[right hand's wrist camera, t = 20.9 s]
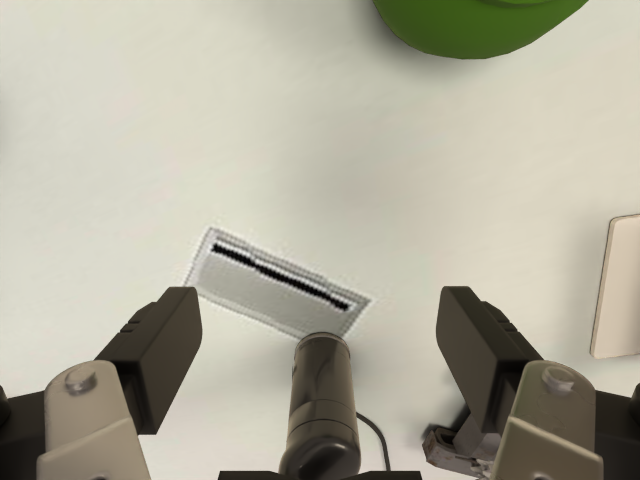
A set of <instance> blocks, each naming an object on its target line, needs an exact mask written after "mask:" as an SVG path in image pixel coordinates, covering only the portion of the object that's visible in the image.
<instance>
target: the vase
mask: <svg viewBox="0 0 640 480" xmlns="http://www.w3.org/2000/svg"><path fill="white" fill-rule="evenodd" d="M587 1H588V0H373V2H374V4H375V6H376V8H377V10H378V11H379V13H380V15H381V17H382V19H383V21H384V22H385V23H386V24H387V25H388V27H389V28H390V29H391V30H392V31H393V33H394V34H395V35H396V36H398V37H399V38H400V39H401V40H403V41H404V42H405V43H407V44H408V45H409V46H411V47H413V48H415V49H418V50H420V51H422V52H424V53H427V54H432V55H437V56H442V57H449V58H457V59H487V58H491V57H495V56H500V55H504V54H508V53H511V52H513V51H515V50H517V49H519V48H522V47H524V46H526V45H528V44H531V43H532V42H534V41H535V40H537V39H538V38H540V37H541V36H543V35H544V34H545V33H547V32H548V31H550V30H551V29H553V28H554V27H555V26H557V25H558V24H560V23H561V22H562V21H564V20H565V19H566V18H568V17H569V16H570V15H572V14H573V13H574V12H576V11H577V10H578V9H580V8H581V7H582V6H583V5H584V4H585V3H586V2H587Z"/></svg>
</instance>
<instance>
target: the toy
mask: <svg viewBox="0 0 640 480" xmlns="http://www.w3.org/2000/svg"><path fill="white" fill-rule="evenodd" d="M500 442H501V437H500V435H499V433H481V432H480V430H479V427H478V425H477V423H476V421H475V419H474V417H473V415H472V413H471V414H470V415H469V417H468V418H467V420H466V421H465V423H464V424H463V426H462V427H461V429H460V430H459V432H454V431H451V430H447V429H443V428H437V430H436V431H435V433H434V432H433V430H431V431H430V433H429V435H428V436H427V438H426V439H425V441H424V442H423V444H422V446H423V450H424V453H425V456H426V459H427V460H426V462H428V463H430V464H432V465H433V466H435V467H438V468H442V469H446V470H450V471H454V472H457V473H461V474H465V475H469V476H473V477H477V478H479V479H476V480H489V478H490V474H491V471H492V468H493V465H494V461H495V458H496V455H497V452H498V448H499V445H500Z"/></svg>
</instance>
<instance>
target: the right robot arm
mask: <svg viewBox="0 0 640 480" xmlns="http://www.w3.org/2000/svg"><path fill="white" fill-rule="evenodd" d="M436 338H437V343H438V346H439V348H440V350H441V352H442V354H443V356H444V358H445V360H446V363H447V365H448V367H449V369H450V371H451V373H452V375H453V377H454V379H455V381H456V383H457V385H458V387H459V389H460V391H461V393H462V395H463V397H464V399H465V401H466V403H467V405H468V407H469V409H470V411H471V413H472V415H473V417H474V419H475V421H476V423H477V425H478V427H479V430H480V432H481V433H499V435H500V437H501V442H500V445H499V448H498V452H497V455H496V458H495V461H494V465H493V468H492V471H491V474H490V478H489V480H640V383H639V384H638V385H637V386H636V388H635V391H634V393H633V395H632V398H630V397H625V396H620V395H616V394H611V393H607V392H602V391H597V390H595V389H594V387H593V385H592V384H591V383H590V382H589V381H588V380H587V379H586V378H585V377H584V376H583V375H581V374H580V373H578V372H577V371H575V370H573V369H571V368H569V367H567V366H565V365H562V364H559V363H556V362H552V361H546V360H544V359H543V358H542V357H541V356H540V355H539V354H538V352H537V351H536V350H535V349H534V348H533V347H532V346H531V344H530V343H529V342H528V341H527V340H526V339H525V338H524V337H523V335H522V334H521V333H520V332H517V329H516V327H515V326H514V325H513V324H512V323H510V321H509V320H508V318H507V317H506V316H505V315H504V314H503V313H502V312H501V310H499V309H497V308H496V307H494V306H493V305H491V304H489V303H488V302H486V301H480V299H479V298H478V297H477V296H476V295H475V293H474V292H473V291H472V290H471V288H470V287H468V286H444V287H443V288H442V291H441V296H440V303H439V310H438V317H437V324H436ZM201 340H202V323H201V316H200V309H199V302H198V295H197V291H196V289H195V287H169V288H168V289H167V290H166V291H165V293H164V294H163V295H162V296H161V297H160V299H159V300H158V301H157V302H151V303H150V304H148V305H146V306H145V307H143V308H141V309H140V310H138V311H137V312H136V313H135V314H134V315H133V316H132V318H131V319H130V320H129V321H128V324H125V325H124V327H123V328H122V329H121V330H120V333H117V334H116V336H115V337H114V338H113V339H112V340H111V341H110V342H109V343H108V345H107V346H106V347H105V348H104V349H103V350H102V351H101V352H100V354H99V355H98V356H97V357H96V358H95V359H94V360H93V361H88V362H84V363H81V364H78V365H75V366H73V367H71V368H69V369H67V370H65V371H63V372H62V373H60V374H59V375H57V376H56V377H55V378H54V379H53V380H52V381H51V382H50V383H49V384H48V385H47V387H46V389H45V390H44V391H40V392H36V393H31V394H27V395H22V396H18V397H13V398H8V399H7V397H6V395H5V393H4V390H3V388H2V386H1V385H0V480H151V478H150V474H149V471H148V468H147V465H146V461H145V458H144V455H143V452H142V448H141V445H140V442H139V439H138V435H156V434H157V432H158V430H159V428H160V426H161V424H162V422H163V420H164V418H165V416H166V414H167V412H168V410H169V408H170V406H171V404H172V402H173V400H174V398H175V395H176V393H177V391H178V389H179V387H180V385H181V383H182V381H183V379H184V377H185V375H186V373H187V371H188V369H189V367H190V365H191V363H192V361H193V359H194V357H195V355H196V353H197V351H198V349H199V347H200V344H201ZM294 360H295V363H294V372H293V369H292V392H291V402H290V412H289V423H288V433H287V444H286V451H285V452H284V454H283V456H282V458H281V461H280V465H279V471H278V473H275V472H271V471H220V473H219V477H218V480H422V477H421V473H420V471H391V470H390V464H389V458H388V452H387V446H386V442H385V439H384V437H383V435H382V433H381V432H380V430H379V429H378V428H377V427H376V426H375V425H374V424H373V423H372V422H371V421H369V420H368V419H366V418H365V417H364V416H362V415H360V414H359V413H357V412H356V410H355V401H354V392H353V384H352V375H351V366H350V352H349V348H348V346H347V345H346V343H345V342H344V341H343V340H342V339H341V338H339V337H338V336H336V335H333V334H330V333H315V334H311V335H309V336H307V337H305V338H304V339H303V340H301V341H300V343H299V344H298V345H297V347H296V350H295V357H294ZM356 417H357V418H359V419H360V420H362V421H363V422H365V423H366V424H368V425H369V426H370V427H371V428H372V429H373V430H374V431H375V432H376V433H377V435H378V436H379V438H380V440H381V442H382V446H383V451H384V457H385V462H386V469H387V471H369V472H365V473H361V474H358V473H359V470H360V466H361V451H360V443H359V434H358V426H357V418H356Z"/></svg>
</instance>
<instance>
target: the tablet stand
mask: <svg viewBox="0 0 640 480" xmlns="http://www.w3.org/2000/svg"><path fill="white" fill-rule="evenodd" d="M590 354H591V355H592V356H593V357H594V358H596V359H600V358H608V357H617V356H625V355H634V354H640V215H633V216H625V217H618V218H615V219H613V220H612V221H611V223H610V229H609V236H608V242H607V248H606V255H605V261H604V268H603V274H602V280H601V287H600V293H599V299H598V306H597V312H596V319H595V325H594V331H593V338H592V344H591V351H590Z"/></svg>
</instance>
